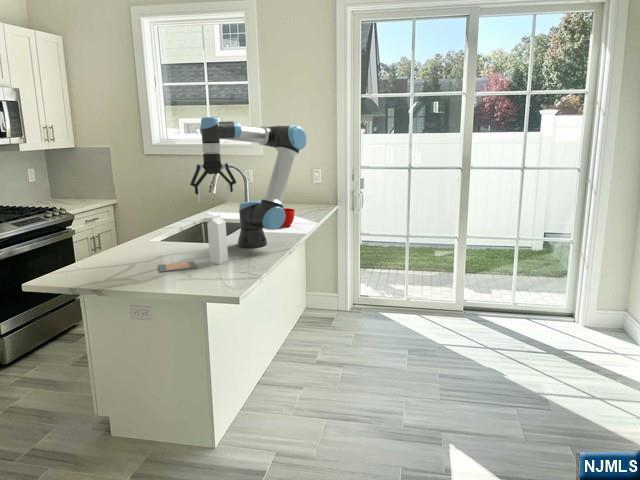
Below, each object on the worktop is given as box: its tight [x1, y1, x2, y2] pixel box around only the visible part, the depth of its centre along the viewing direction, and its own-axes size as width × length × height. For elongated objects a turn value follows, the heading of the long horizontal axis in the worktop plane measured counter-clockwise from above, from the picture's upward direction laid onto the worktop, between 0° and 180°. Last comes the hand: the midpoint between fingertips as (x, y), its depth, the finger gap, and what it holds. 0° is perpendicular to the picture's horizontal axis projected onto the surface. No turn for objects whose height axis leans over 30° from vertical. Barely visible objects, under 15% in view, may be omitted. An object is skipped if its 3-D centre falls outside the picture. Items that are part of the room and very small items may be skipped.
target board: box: [157, 260, 198, 274], centre depth 228 cm, size 16×11×1 cm
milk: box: [206, 214, 229, 265], centre depth 233 cm, size 6×6×22 cm
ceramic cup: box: [280, 207, 295, 228], centre depth 312 cm, size 13×17×10 cm
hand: (214, 200), depth 229 cm, fingers open, 13 cm apart
